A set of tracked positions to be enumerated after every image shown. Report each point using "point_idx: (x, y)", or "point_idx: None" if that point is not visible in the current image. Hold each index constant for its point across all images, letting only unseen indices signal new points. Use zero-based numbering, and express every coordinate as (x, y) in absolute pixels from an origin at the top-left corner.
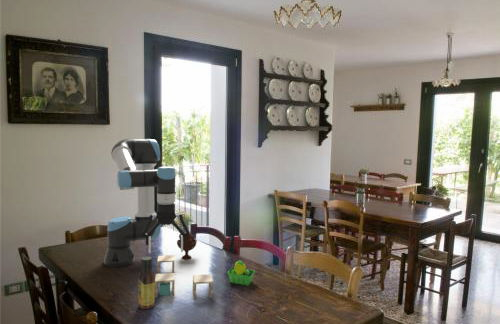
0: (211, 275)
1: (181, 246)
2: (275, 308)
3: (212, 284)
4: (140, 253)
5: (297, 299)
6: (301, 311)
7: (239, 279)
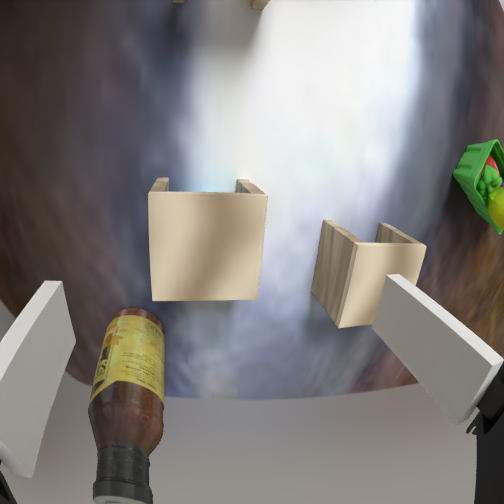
0: (422, 259)
1: (401, 358)
2: None
3: None
4: None
5: (498, 304)
6: None
7: (477, 204)
